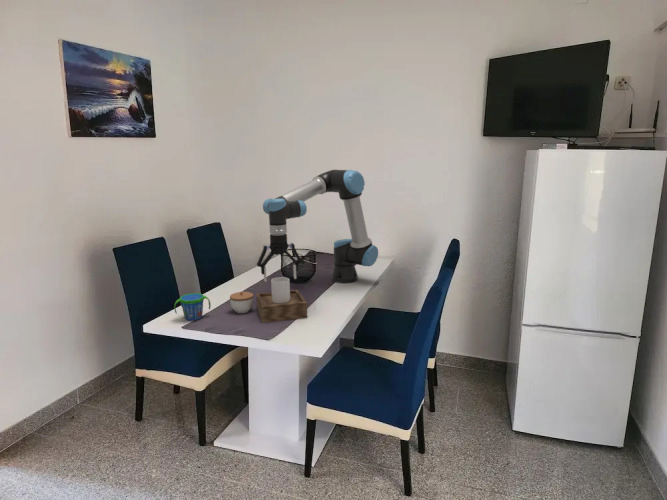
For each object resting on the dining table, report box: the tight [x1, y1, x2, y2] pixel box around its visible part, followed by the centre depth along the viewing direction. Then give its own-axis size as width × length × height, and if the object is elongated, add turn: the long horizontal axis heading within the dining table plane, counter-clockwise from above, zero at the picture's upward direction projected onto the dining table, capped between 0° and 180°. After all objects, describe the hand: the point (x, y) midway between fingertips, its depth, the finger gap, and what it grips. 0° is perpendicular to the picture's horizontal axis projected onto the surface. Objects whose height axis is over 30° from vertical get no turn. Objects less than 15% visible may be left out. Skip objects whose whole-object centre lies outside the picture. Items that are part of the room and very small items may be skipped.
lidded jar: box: [229, 291, 254, 314], centre depth 225 cm, size 11×11×9 cm
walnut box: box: [255, 289, 308, 323], centre depth 222 cm, size 20×20×7 cm
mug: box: [270, 276, 291, 304], centre depth 220 cm, size 12×8×10 cm
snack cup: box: [173, 292, 212, 322], centre depth 216 cm, size 16×10×10 cm
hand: (280, 279), depth 219 cm, fingers open, 13 cm apart
